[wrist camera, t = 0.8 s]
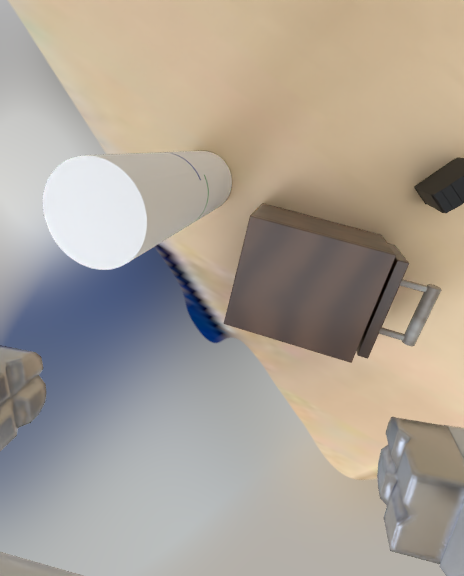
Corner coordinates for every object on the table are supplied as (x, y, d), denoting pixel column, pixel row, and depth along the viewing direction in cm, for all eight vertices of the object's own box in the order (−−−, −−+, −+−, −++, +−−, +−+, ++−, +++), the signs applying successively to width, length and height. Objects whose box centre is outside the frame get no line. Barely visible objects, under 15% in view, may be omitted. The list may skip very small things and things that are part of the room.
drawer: (436, 256, 43) (458, 276, 36) (397, 340, 48) (410, 372, 41) (282, 215, 45) (276, 226, 38) (259, 299, 50) (250, 323, 43)
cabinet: (381, 234, 44) (396, 255, 36) (345, 326, 49) (351, 362, 41) (262, 203, 46) (250, 215, 38) (238, 294, 51) (223, 323, 43)
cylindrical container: (210, 138, 45) (97, 129, 22) (243, 190, 46) (169, 233, 23) (165, 173, 47) (21, 198, 24) (197, 221, 48) (90, 288, 26)
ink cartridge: (424, 203, 42) (446, 215, 35) (412, 187, 42) (433, 195, 35) (467, 175, 40) (500, 181, 33) (456, 157, 40) (487, 160, 33)
